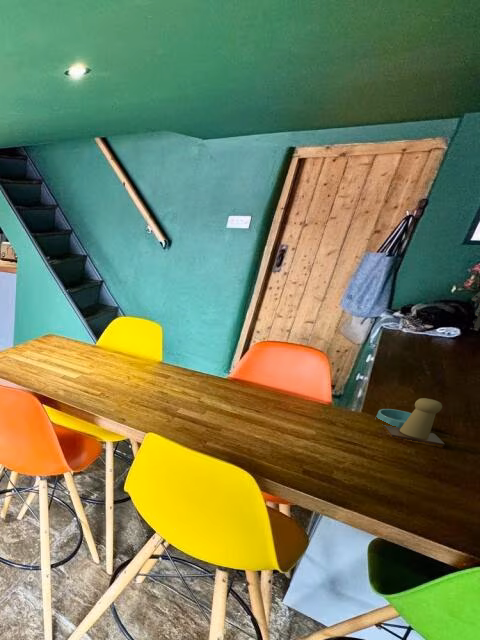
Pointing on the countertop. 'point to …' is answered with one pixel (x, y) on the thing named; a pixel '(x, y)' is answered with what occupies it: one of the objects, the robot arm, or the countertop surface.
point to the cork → (421, 418)
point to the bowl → (393, 417)
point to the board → (396, 433)
